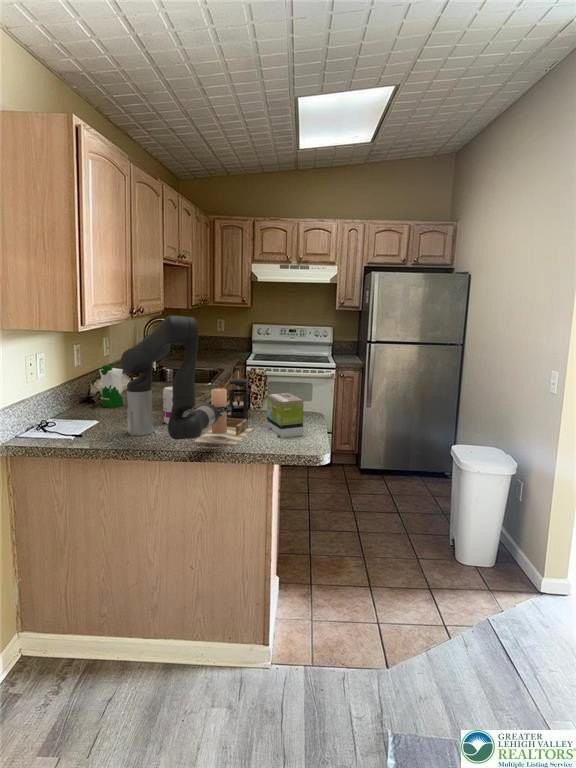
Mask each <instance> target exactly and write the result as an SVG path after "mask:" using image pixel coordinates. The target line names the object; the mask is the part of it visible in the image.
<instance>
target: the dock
mask: <svg viewBox="0 0 576 768" xmlns="http://www.w3.org/2000/svg"><path fill="white" fill-rule="evenodd" d="M248 419H249V418H248ZM248 419H235V418H228V417H227V432H226V433H222V434H215V433H212V428H211V429H210V430H208V431H206V432H205V433H204V434H201V435H200V436H199V437H197V438H196V439H195V440H194V441H193V443H200V444H201V443H203V444H204V443H205V444H213V445H214V444H215V445H229V446H236V445H237V444H238V443H239V442H240V441H241V440H242V439H243V438H245V437H246V436H247V435H249V433H250V432H252V430H254V429H255V427H249V420H248Z"/></svg>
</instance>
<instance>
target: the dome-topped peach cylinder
mask: <svg viewBox="0 0 576 768" xmlns="http://www.w3.org/2000/svg"><path fill="white" fill-rule="evenodd" d="M227 393H228V392H227V389H226V388H221V387H219V388H218V387H217V388H211V393H210V394H211V397H210V398H211V403H210V404H212V405H214V406H215V407H219V406H224V407H225V406H227V405H228V403H227V402H228V400H227V399H228V397H227V395H228V394H227ZM224 412H225V409H224ZM227 418H228V417H227V416H226V415H224V416H221V417H219V418H218V420H217V422H215V423H214V424H212V425H211V429H212V433H215V434H222V433H226V432H227Z"/></svg>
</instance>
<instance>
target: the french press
mask: <svg viewBox="0 0 576 768" xmlns="http://www.w3.org/2000/svg"><path fill="white" fill-rule="evenodd" d="M243 368H244V367H243V366H241V365H239V366H238V365H237V366H233V369H236V370H237V378H231V379H230V378H229V379H228V381H227V382H228V385H235V386H236V387H237V389H229V390H228V392H227V393H228V394H227V395H229V402H228V405H230V406H231V407H232V415H231V416H230V417H227V418H235V419H245V418H248V417H249V418H250V416H249V414H250V413H249V410H251V390H250V389H244V388H243V389H241V388H242V387H247V386H248V383H249V379H246V378H240V376H239V375H240V373H239V372H240V369H243ZM242 396H243V401H241V400H240V397H242ZM235 397H237V401H234V399H235ZM242 407H243V408H242ZM249 418H248V419H249Z"/></svg>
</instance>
